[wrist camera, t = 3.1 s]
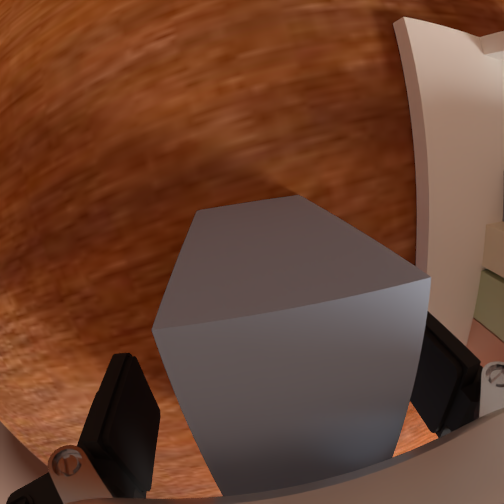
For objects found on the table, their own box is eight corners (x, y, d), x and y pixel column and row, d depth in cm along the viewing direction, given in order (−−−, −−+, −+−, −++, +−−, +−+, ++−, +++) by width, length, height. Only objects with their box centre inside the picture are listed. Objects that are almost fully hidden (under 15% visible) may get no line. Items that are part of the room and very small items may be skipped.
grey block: (298, 194, 12) (431, 277, 4) (312, 399, 16) (360, 531, 8) (196, 210, 12) (152, 329, 4) (240, 412, 15) (257, 553, 7)
